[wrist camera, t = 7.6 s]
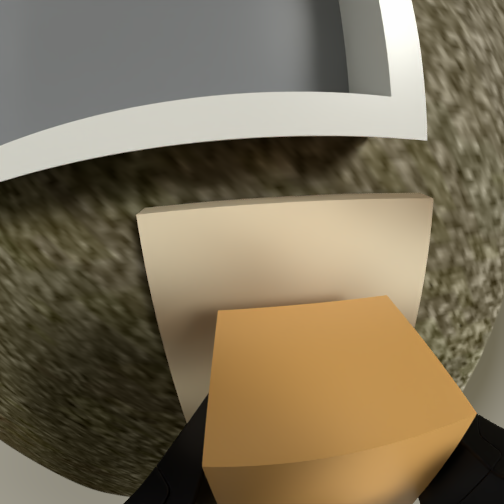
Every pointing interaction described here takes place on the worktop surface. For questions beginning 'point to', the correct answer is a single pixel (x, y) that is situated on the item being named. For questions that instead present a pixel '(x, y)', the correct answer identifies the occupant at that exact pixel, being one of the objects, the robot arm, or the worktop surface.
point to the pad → (275, 264)
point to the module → (327, 406)
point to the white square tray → (201, 75)
